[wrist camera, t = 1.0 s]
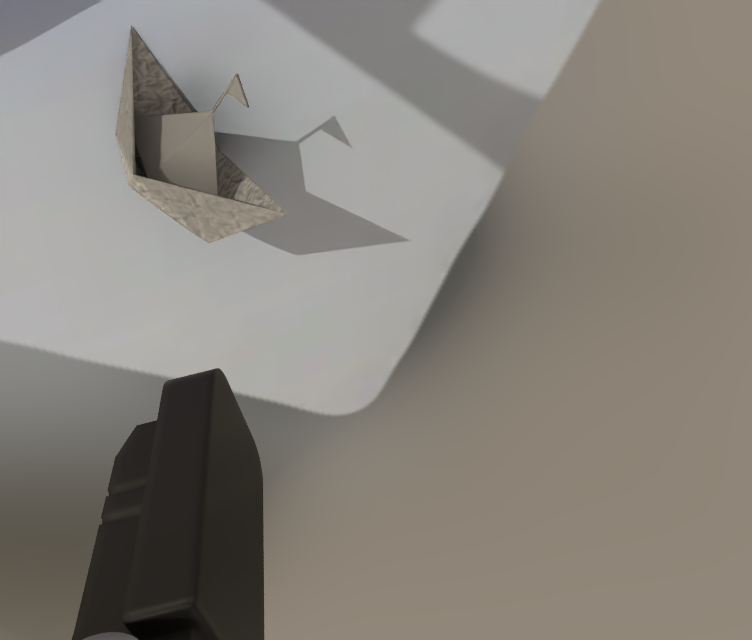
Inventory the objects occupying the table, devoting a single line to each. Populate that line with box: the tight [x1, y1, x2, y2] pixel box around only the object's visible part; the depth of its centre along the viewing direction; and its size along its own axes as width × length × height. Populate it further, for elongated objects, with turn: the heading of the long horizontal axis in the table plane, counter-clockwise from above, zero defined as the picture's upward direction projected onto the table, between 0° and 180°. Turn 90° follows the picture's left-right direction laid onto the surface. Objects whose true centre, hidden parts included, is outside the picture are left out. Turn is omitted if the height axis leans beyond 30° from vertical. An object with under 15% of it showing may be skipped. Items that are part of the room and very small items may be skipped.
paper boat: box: [116, 26, 287, 243], centre depth 33 cm, size 12×6×9 cm
